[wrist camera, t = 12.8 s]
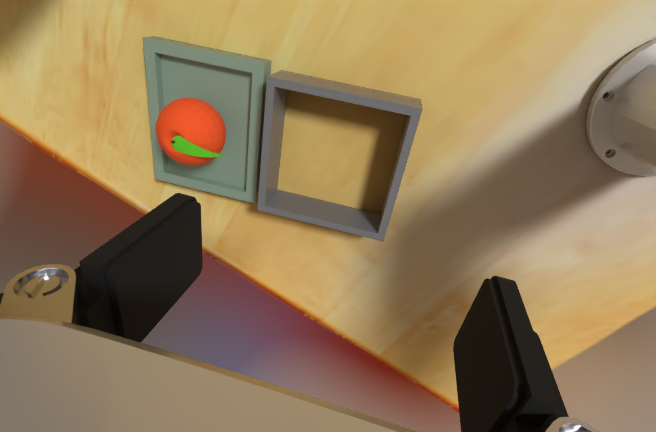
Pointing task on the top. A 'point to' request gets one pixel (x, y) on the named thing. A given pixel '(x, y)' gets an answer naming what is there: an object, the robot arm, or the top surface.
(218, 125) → the clementine
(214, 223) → the top surface
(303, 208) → the open square sleeve
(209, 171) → the tray
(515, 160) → the top surface
